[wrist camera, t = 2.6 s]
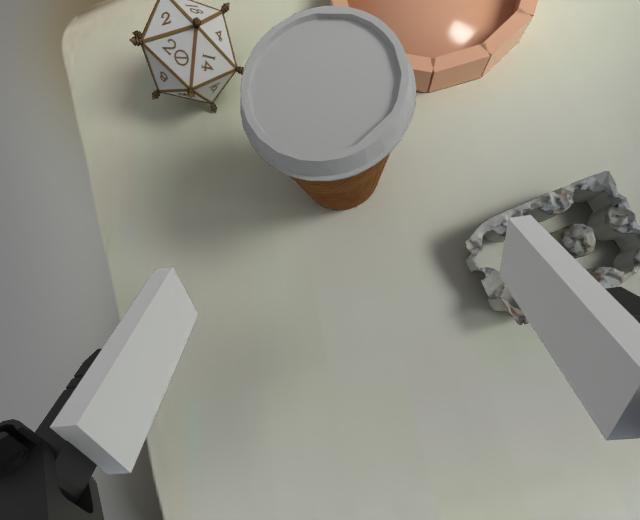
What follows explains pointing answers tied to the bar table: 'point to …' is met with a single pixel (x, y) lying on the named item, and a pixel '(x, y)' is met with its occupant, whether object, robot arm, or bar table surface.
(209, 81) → the game die
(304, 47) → the disposable coffee cup
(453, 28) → the terracotta bowl
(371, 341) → the bar table surface
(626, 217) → the egg carton
